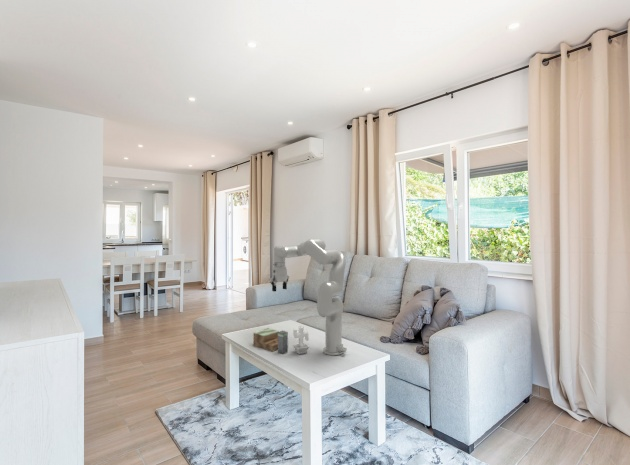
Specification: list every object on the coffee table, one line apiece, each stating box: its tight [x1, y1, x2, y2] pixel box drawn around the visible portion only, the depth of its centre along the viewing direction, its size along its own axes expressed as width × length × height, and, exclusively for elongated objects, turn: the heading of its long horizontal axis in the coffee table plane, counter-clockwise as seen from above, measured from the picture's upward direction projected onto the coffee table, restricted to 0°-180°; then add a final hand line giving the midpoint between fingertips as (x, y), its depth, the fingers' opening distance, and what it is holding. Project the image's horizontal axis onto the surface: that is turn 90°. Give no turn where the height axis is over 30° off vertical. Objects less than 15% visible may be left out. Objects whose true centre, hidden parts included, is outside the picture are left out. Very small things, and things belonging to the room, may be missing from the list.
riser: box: [253, 327, 280, 352], centre depth 206 cm, size 17×12×8 cm
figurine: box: [292, 325, 310, 355], centre depth 195 cm, size 7×9×15 cm
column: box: [277, 330, 289, 355], centre depth 195 cm, size 4×4×12 cm
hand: (279, 290), depth 224 cm, fingers open, 9 cm apart
